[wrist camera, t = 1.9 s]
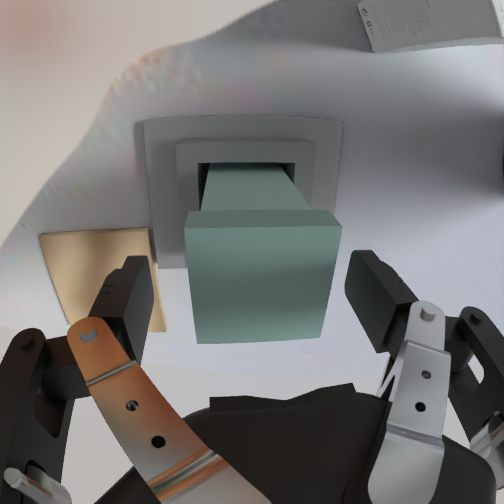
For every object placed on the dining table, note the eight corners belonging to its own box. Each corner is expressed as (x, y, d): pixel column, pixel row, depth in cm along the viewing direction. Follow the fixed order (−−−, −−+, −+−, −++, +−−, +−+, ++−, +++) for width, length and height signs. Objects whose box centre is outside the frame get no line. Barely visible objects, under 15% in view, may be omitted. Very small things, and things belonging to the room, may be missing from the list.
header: (337, 120, 19) (355, 125, 16) (322, 257, 24) (333, 278, 22) (147, 119, 18) (134, 123, 15) (160, 261, 23) (153, 283, 20)
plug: (281, 156, 20) (341, 226, 10) (277, 225, 22) (319, 337, 12) (204, 157, 19) (184, 228, 9) (207, 226, 22) (197, 343, 12)
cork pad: (148, 227, 21) (147, 231, 21) (166, 327, 26) (165, 332, 26) (42, 233, 21) (38, 236, 20) (73, 324, 26) (71, 327, 25)
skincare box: (372, 55, 16) (502, 45, 6) (352, 1, 14) (465, -52, 4) (434, 49, 16) (558, 54, 5) (417, -1, 14) (533, -24, 3)
